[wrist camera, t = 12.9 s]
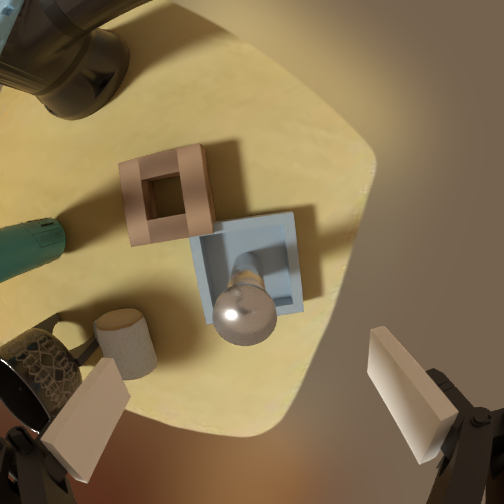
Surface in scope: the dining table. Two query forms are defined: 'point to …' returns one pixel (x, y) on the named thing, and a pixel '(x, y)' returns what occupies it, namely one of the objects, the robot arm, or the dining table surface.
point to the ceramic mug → (126, 342)
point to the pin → (245, 304)
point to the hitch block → (143, 199)
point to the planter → (40, 373)
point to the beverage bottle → (29, 246)
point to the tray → (259, 243)
